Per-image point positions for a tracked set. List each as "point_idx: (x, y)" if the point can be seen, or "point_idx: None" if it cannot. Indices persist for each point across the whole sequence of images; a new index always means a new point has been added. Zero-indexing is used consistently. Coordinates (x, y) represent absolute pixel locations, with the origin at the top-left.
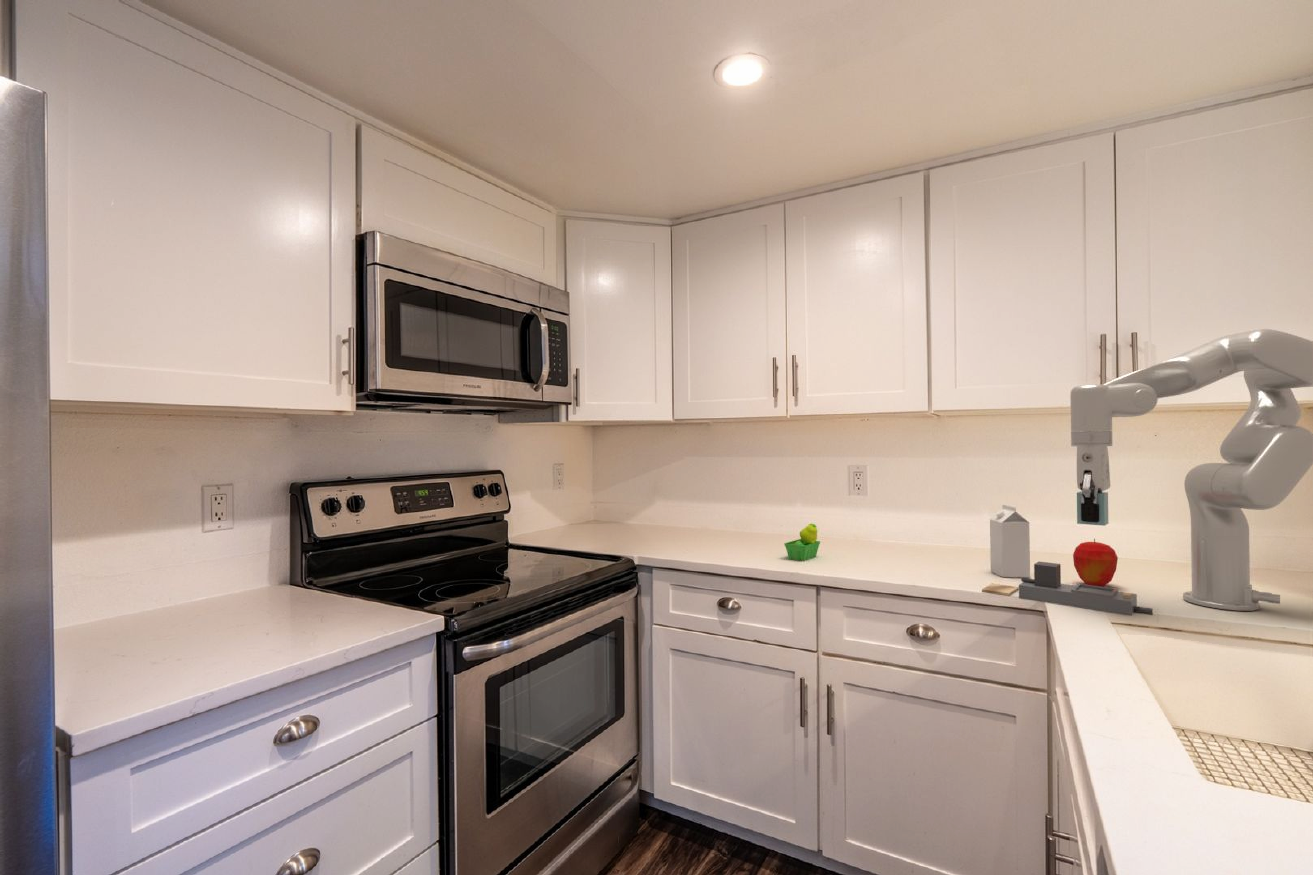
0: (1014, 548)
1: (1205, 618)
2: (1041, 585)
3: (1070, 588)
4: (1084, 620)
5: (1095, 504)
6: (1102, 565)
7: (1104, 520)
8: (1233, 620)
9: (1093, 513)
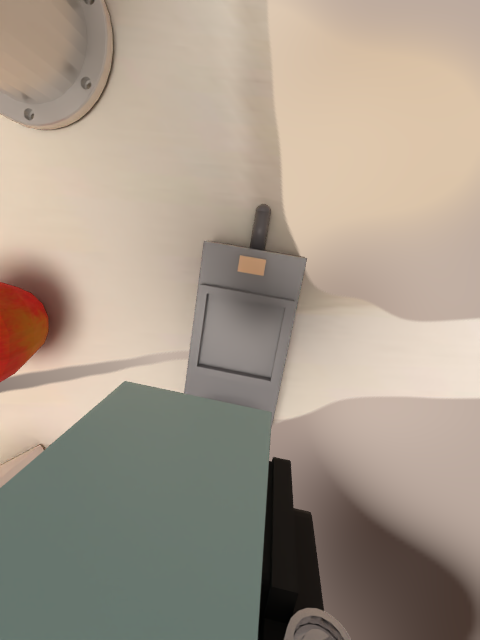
0: None
1: (236, 96)
2: None
3: (231, 385)
4: (407, 352)
5: (291, 610)
6: (17, 317)
7: (270, 432)
8: (219, 31)
9: (313, 539)
